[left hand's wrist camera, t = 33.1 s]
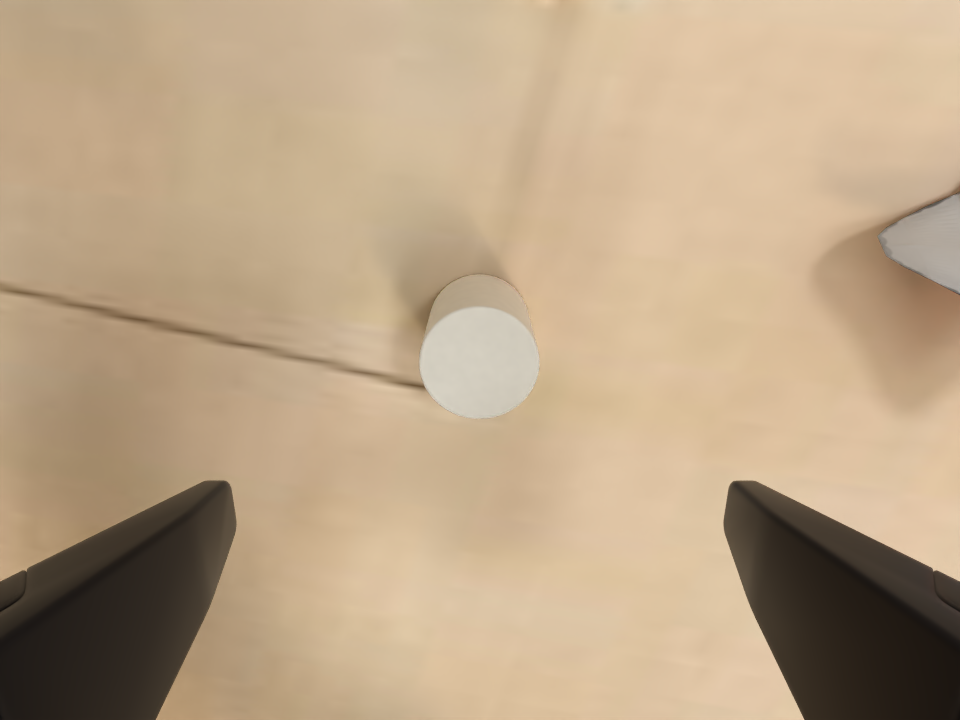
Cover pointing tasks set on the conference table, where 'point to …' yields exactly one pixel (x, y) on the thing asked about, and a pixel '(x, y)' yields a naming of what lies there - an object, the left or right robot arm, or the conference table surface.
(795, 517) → the left robot arm
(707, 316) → the conference table surface
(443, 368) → the canister
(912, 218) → the fish
